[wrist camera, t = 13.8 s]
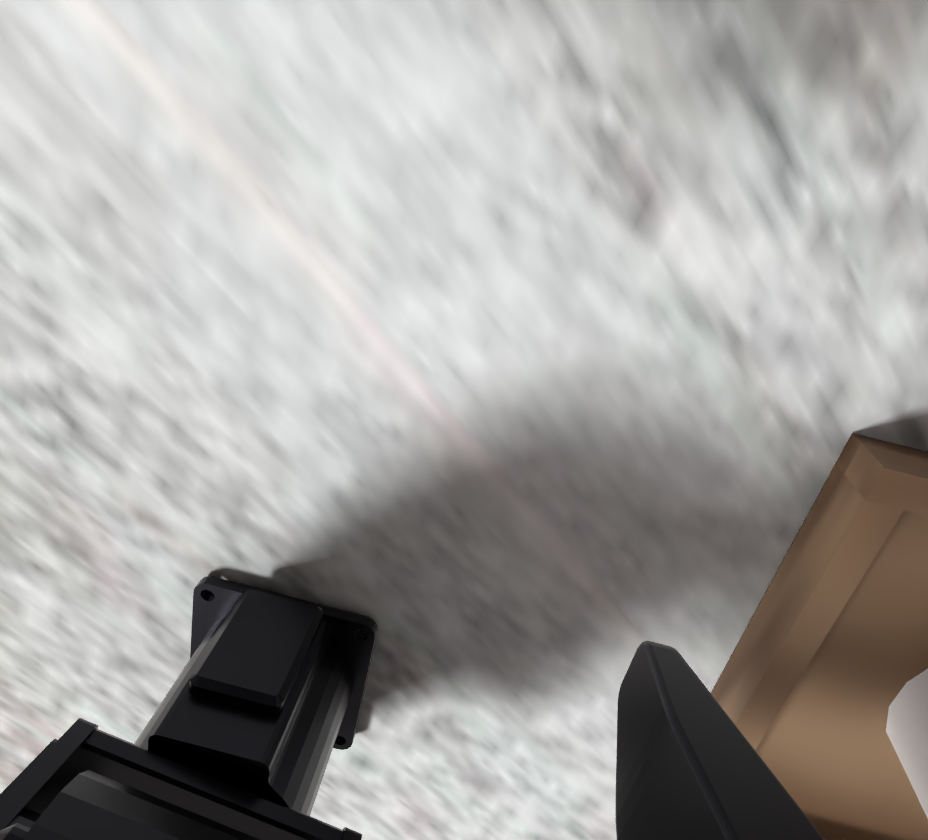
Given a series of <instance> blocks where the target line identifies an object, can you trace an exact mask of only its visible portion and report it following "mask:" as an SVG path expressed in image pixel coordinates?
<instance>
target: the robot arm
mask: <svg viewBox="0 0 928 840" xmlns="http://www.w3.org/2000/svg"><path fill="white" fill-rule="evenodd" d="M208 590H210V591H212V592H213V594H212V593H210V592H209V591H208ZM358 629H362V630H364V631H366V632H361V631H359V630H358ZM376 635H377V625H376V623H375V622H374V621H373V620H372V619H371V618H369V617H366V616H363V615H359V614H355V613H351V612H347V611H343V610H340V609H336V608H332V607H328V606H324V605H320V604H316V603H312V602H308V601H305V600H301V599H297V598H293V597H289V596H285V595H281V594H277V593H274V592H270V591H266V590H262V589H258V588H254V587H250V586H246V585H243V584H239V583H235V582H231V581H227V580H223V579H219V578H215V577H204V578H203V579H202V580H200V582H199V583H198V584H197V586H196V587H195V589H194V596H193V616H192V636H191V655H190V660H189V662H188V663H187V665H186V666H185V668H184V669H183V671H182V672H181V674H180V675H179V677H178V678H177V680H176V681H175V683H174V685H173V686H172V688H171V689H170V691H169V692H168V694H167V695H166V697H165V698H164V700H163V701H162V703H161V704H160V706H159V707H158V709H157V710H156V712H155V713H154V715H153V716H152V718H151V719H150V721H149V722H148V724H147V726H146V727H145V729H144V730H143V732H142V733H141V735H140V736H139V738H138V739H137V741H136V742H135V744H132V743H130V742H127V741H125V740H123V739H120V738H118V737H115V736H113V735H110V734H108V733H106V732H103V731H101V730H98V725H96V724H93V723H91V722H88V721H86V720H84V719H81V718H79V719H78V720H77V721H76V722H75V723H74V724H73V725H72V726H71V727H70V728H69V729H68V730H67V732H66V733H65V734H64V735H63V736H62V737H61V738H60V739H59V740H56V739H54V740H53V741H52V742H51V743H50V744H49V745H48V746H47V747H46V748H45V749H44V750H43V751H42V752H41V753H40V754H39V755H38V756H37V757H36V758H35V759H34V760H33V761H32V762H31V763H30V764H29V765H28V766H27V767H26V768H25V769H24V771H23V772H22V773H21V774H20V775H19V776H18V777H17V778H16V779H15V780H14V781H13V782H12V783H11V784H10V785H9V786H8V787H7V788H6V789H5V790H4V791H3V792H2V793H1V794H0V840H361V838H362V834H360V833H358V832H356V831H353V830H351V829H348V828H346V827H345V828H344V829H343V830H341V829H339V828H336V827H334V826H332V825H329V824H327V823H324V822H322V821H319V820H317V819H315V818H312V817H310V813H311V810H312V807H313V804H314V801H315V798H316V795H317V792H318V790H319V787H320V784H321V781H322V778H323V775H324V772H325V769H326V766H327V763H328V760H329V757H330V755H331V752H332V749H333V748H336V749H342V750H343V749H348V748H349V747H351V745H352V743H353V739H354V736H355V732H356V728H357V723H358V718H359V714H360V709H361V704H362V700H363V695H364V691H365V686H366V681H367V677H368V672H369V667H370V663H371V658H372V653H373V649H374V644H375V640H376ZM616 833H617V840H825V839H824V838H823V837H822V835H821V834H820V833H819V831H818V830H817V829H816V828H815V826H814V825H813V824H812V823H811V821H810V820H809V819H808V817H807V816H806V815H805V814H804V812H803V811H802V810H801V808H800V807H799V806H798V805H797V803H796V802H795V801H794V800H793V798H792V797H791V796H790V794H789V793H788V792H787V791H786V789H785V788H784V787H783V785H782V784H781V783H780V782H779V780H778V779H777V778H776V776H775V775H774V774H773V773H772V771H771V770H770V769H769V768H768V766H767V765H766V764H765V762H764V761H763V760H762V759H761V757H760V756H759V755H758V753H757V752H756V751H755V750H754V748H753V747H752V746H751V744H750V743H749V742H748V741H747V739H746V738H745V737H744V736H743V734H742V733H741V732H740V730H739V729H738V728H737V727H736V725H735V724H734V723H733V721H732V720H731V719H730V718H729V716H728V715H727V714H726V712H725V711H724V710H723V709H722V707H721V706H720V705H719V704H718V702H717V701H716V700H715V698H714V697H713V696H712V695H711V693H710V692H709V691H708V689H707V688H706V687H705V686H704V684H703V683H702V682H701V681H700V679H699V678H698V677H697V675H696V674H695V673H694V672H693V670H692V669H691V668H690V666H689V665H688V664H687V663H686V661H685V660H684V659H683V657H682V656H681V655H680V654H679V652H678V651H677V650H676V649H674V648H673V647H670V646H666V645H663V644H659V643H655V642H651V641H645V642H642V643H641V644H640V646H639V647H638V649H637V651H636V653H635V655H634V657H633V660H632V662H631V664H630V666H629V668H628V671H627V673H626V675H625V677H624V679H623V681H622V684H621V687H620V691H619V697H618V719H617V763H616Z"/></svg>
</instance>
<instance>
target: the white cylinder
mask: <svg viewBox="0 0 928 840" xmlns="http://www.w3.org/2000/svg"><path fill="white" fill-rule="evenodd" d="M886 733H887V735H888V737H889V739H890V741H891V743H892V745H893V747H894V749H895V751H896V753H897V755H898V757H899V760H900V762H901V764H902V766H903V768H904V770H905V772H906V774H907V776H908V778H909V781H910V783H911V785H912V787H913V789H914V791H915V793H916V795H917V797H918V799H919V801H920V804H921V806H922V808H923V810H924V812H925V814H926V816H927V818H928V669H926V670H925V671H923V672H922V673H920V674H919V675H917V676H916V677H914V678H913V679H911V680H910V681H908V682H907V683H906V684H905V685H904V687H903V688H902V689H901V691H900V692H899V694H898V695H897V696H896V698H895V699H894V700H893V702H892V703H891V704H890V706H889V710H888V718H887V726H886Z"/></svg>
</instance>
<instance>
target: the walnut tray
mask: <svg viewBox="0 0 928 840" xmlns="http://www.w3.org/2000/svg"><path fill="white" fill-rule="evenodd" d="M926 669H928V452H925V451H921V450H917V449H913V448H909V447H905V446H901V445H897V444H893V443H889V442H885V441H881V440H877V439H873V438H869V437H865V436H861V435H857V434H853V433H852V435H851V437H850V438H849V440H848V442H847V444H846V446H845V448H844V449H843V451H842V453H841V455H840V457H839V459H838V461H837V462H836V464H835V466H834V468H833V470H832V472H831V473H830V475H829V477H828V479H827V481H826V483H825V484H824V486H823V488H822V490H821V492H820V494H819V495H818V497H817V499H816V501H815V503H814V505H813V506H812V508H811V510H810V512H809V514H808V516H807V518H806V519H805V521H804V523H803V525H802V527H801V529H800V530H799V532H798V534H797V536H796V538H795V540H794V541H793V543H792V545H791V547H790V549H789V551H788V552H787V554H786V556H785V558H784V560H783V562H782V563H781V565H780V567H779V569H778V571H777V573H776V575H775V576H774V578H773V580H772V582H771V584H770V586H769V587H768V589H767V591H766V593H765V595H764V597H763V598H762V600H761V602H760V604H759V606H758V608H757V609H756V611H755V613H754V615H753V617H752V619H751V621H750V622H749V624H748V626H747V628H746V630H745V632H744V633H743V635H742V637H741V639H740V641H739V643H738V644H737V646H736V648H735V650H734V652H733V654H732V655H731V657H730V659H729V661H728V663H727V665H726V666H725V668H724V670H723V672H722V674H721V676H720V678H719V679H718V681H717V683H716V685H715V687H714V689H713V690H712V692H711V695H712V696H713V697H714V698H715V700H716V701H717V702H718V704H719V705H720V706H721V707H722V709H723V710H724V711H725V712H726V714H727V715H728V716H729V718H730V719H731V720H732V721H733V723H734V724H735V725H736V727H737V728H738V729H739V730H740V732H741V733H742V734H743V736H744V737H745V738H746V739H747V741H748V742H749V743H750V744H751V746H752V747H753V748H754V750H755V751H756V752H757V753H758V755H759V756H760V757H761V759H762V760H763V761H764V762H765V764H766V765H767V766H768V768H769V769H770V770H771V771H772V773H773V774H774V775H775V776H776V778H777V779H778V780H779V782H780V783H781V784H782V785H783V787H784V788H785V789H786V791H787V792H788V793H789V794H790V796H791V797H792V798H793V800H794V801H795V802H796V803H797V805H798V806H799V807H800V808H801V810H802V811H803V812H804V814H805V815H806V816H807V817H808V819H809V820H810V821H811V823H812V824H813V825H814V826H815V828H816V829H817V830H818V831H819V833H820V834H821V835H822V837H823V838H824V839H825V840H928V818H927V816H926V814H925V812H924V810H923V808H922V806H921V804H920V801H919V799H918V797H917V795H916V793H915V791H914V789H913V787H912V785H911V783H910V781H909V778H908V776H907V774H906V772H905V770H904V768H903V766H902V764H901V762H900V760H899V757H898V755H897V753H896V751H895V749H894V747H893V745H892V743H891V741H890V739H889V737H888V735H887V733H886V726H887V718H888V710H889V706H890V704H891V703H892V702H893V700H894V699H895V698H896V696H897V695H898V694H899V692H900V691H901V689H902V688H903V687H904V685H905V684H906V683H907V682H908V681H910V680H911V679H913V678H914V677H916V676H917V675H919V674H920V673H922V672H923V671H925V670H926Z"/></svg>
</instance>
